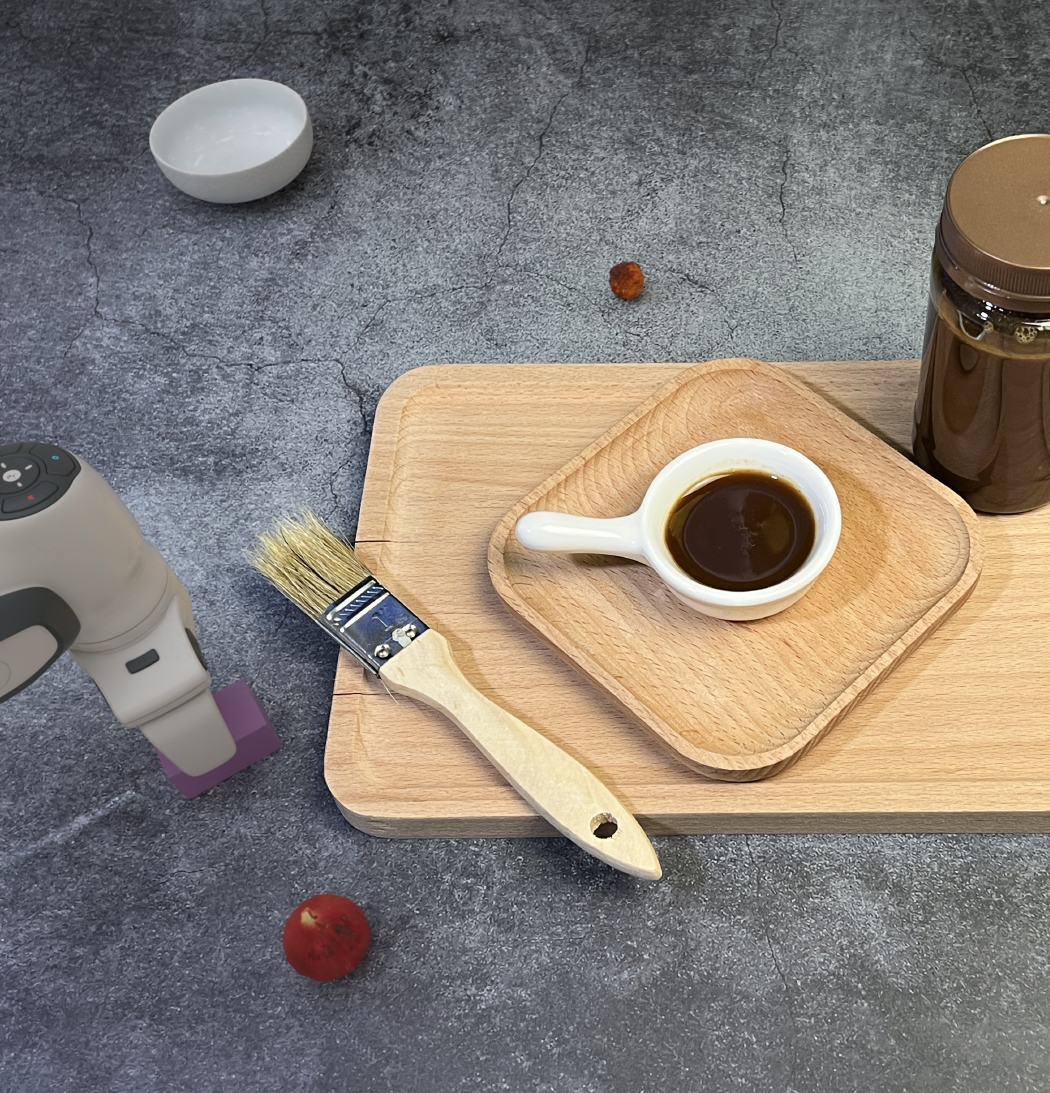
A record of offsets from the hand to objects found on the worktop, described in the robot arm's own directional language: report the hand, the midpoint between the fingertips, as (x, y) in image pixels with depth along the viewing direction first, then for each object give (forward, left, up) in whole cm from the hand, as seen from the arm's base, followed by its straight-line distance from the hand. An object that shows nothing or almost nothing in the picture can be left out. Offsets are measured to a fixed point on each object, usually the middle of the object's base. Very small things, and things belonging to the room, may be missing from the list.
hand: (195, 702), depth 104 cm
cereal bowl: (+20, +65, -2) cm, 68 cm away
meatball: (+50, +28, -2) cm, 57 cm away
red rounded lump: (+5, -24, -2) cm, 25 cm away
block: (+1, -4, -2) cm, 4 cm away
